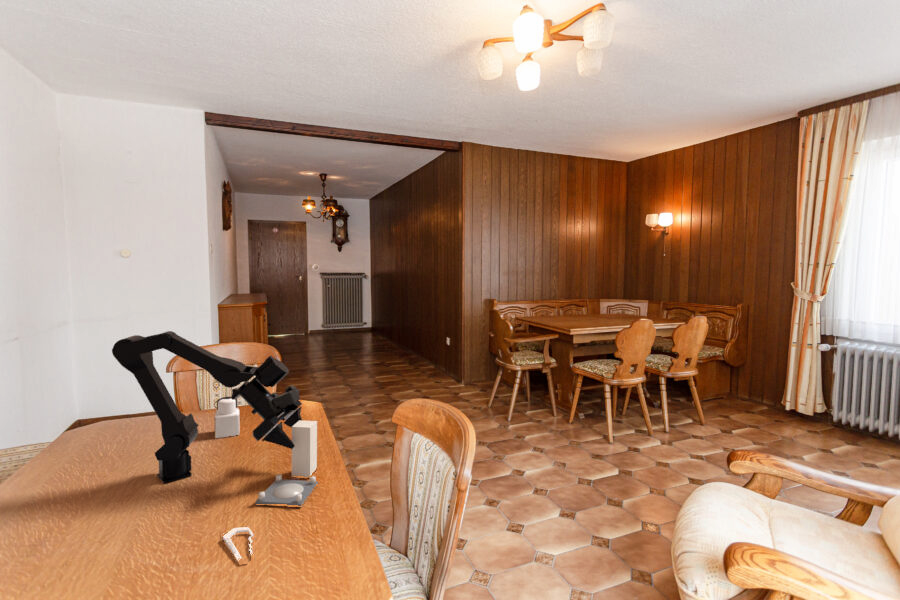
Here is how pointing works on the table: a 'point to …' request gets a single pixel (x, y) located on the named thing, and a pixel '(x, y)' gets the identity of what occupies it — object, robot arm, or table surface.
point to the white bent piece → (230, 543)
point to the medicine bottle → (226, 418)
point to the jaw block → (304, 448)
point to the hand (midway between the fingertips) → (300, 440)
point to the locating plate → (287, 491)
